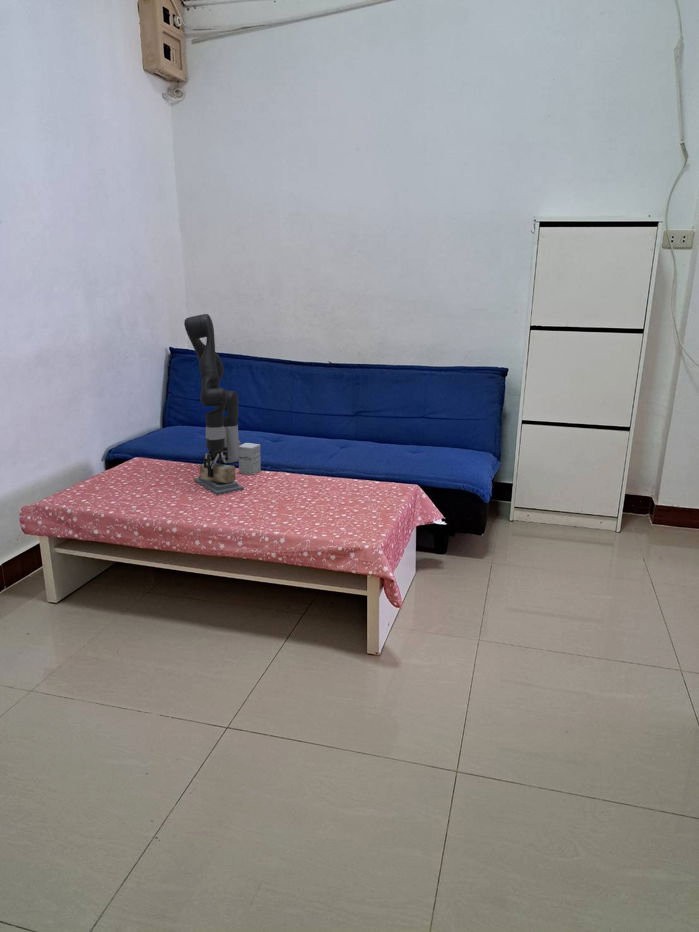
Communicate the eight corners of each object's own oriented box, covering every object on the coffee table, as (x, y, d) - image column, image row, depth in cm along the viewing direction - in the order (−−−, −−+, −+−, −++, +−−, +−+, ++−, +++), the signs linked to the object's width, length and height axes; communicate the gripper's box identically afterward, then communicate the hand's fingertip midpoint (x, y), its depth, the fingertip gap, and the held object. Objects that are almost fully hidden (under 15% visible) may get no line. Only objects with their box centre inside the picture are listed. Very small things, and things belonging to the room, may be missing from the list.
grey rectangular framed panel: (193, 481, 281) (193, 475, 281) (219, 476, 288) (219, 470, 287) (216, 495, 265) (216, 489, 264) (243, 489, 272) (243, 483, 271)
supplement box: (238, 473, 293) (237, 446, 289) (247, 468, 299) (246, 442, 296) (253, 475, 290) (252, 447, 287) (261, 470, 297) (260, 443, 293)
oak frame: (200, 478, 276) (199, 464, 274) (207, 475, 280) (206, 461, 279) (228, 483, 271) (228, 469, 269) (235, 479, 275) (234, 465, 273)
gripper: (217, 432, 278) (218, 468, 282) (197, 439, 265) (199, 477, 270) (232, 434, 275) (233, 471, 280) (212, 441, 262) (214, 480, 267)
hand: (216, 474), depth 275 cm, fingers open, 8 cm apart
